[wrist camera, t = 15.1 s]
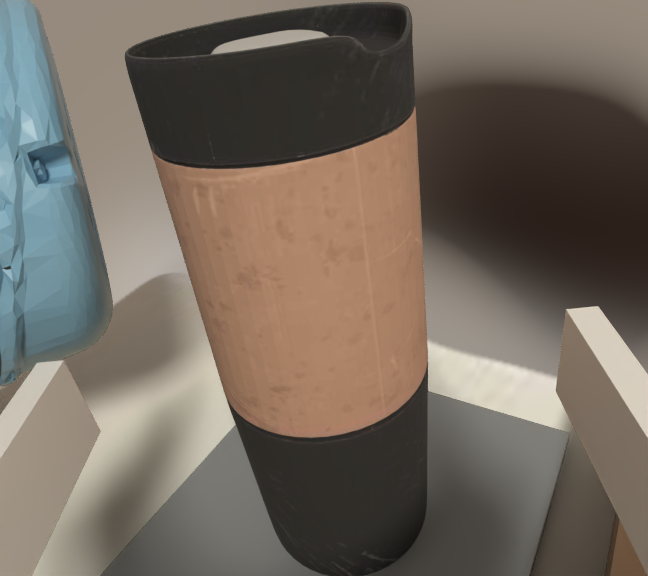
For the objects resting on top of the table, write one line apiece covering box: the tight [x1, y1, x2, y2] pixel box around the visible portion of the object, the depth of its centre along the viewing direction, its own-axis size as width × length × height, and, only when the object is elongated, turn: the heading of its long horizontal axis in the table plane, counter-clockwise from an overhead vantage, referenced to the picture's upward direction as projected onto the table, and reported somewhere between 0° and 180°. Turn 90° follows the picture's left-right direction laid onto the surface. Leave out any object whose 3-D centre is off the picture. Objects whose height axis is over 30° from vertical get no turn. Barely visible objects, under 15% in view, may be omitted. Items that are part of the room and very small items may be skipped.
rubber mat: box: [100, 391, 570, 576], centre depth 25 cm, size 16×16×1 cm
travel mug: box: [125, 2, 428, 576], centre depth 19 cm, size 8×8×20 cm
